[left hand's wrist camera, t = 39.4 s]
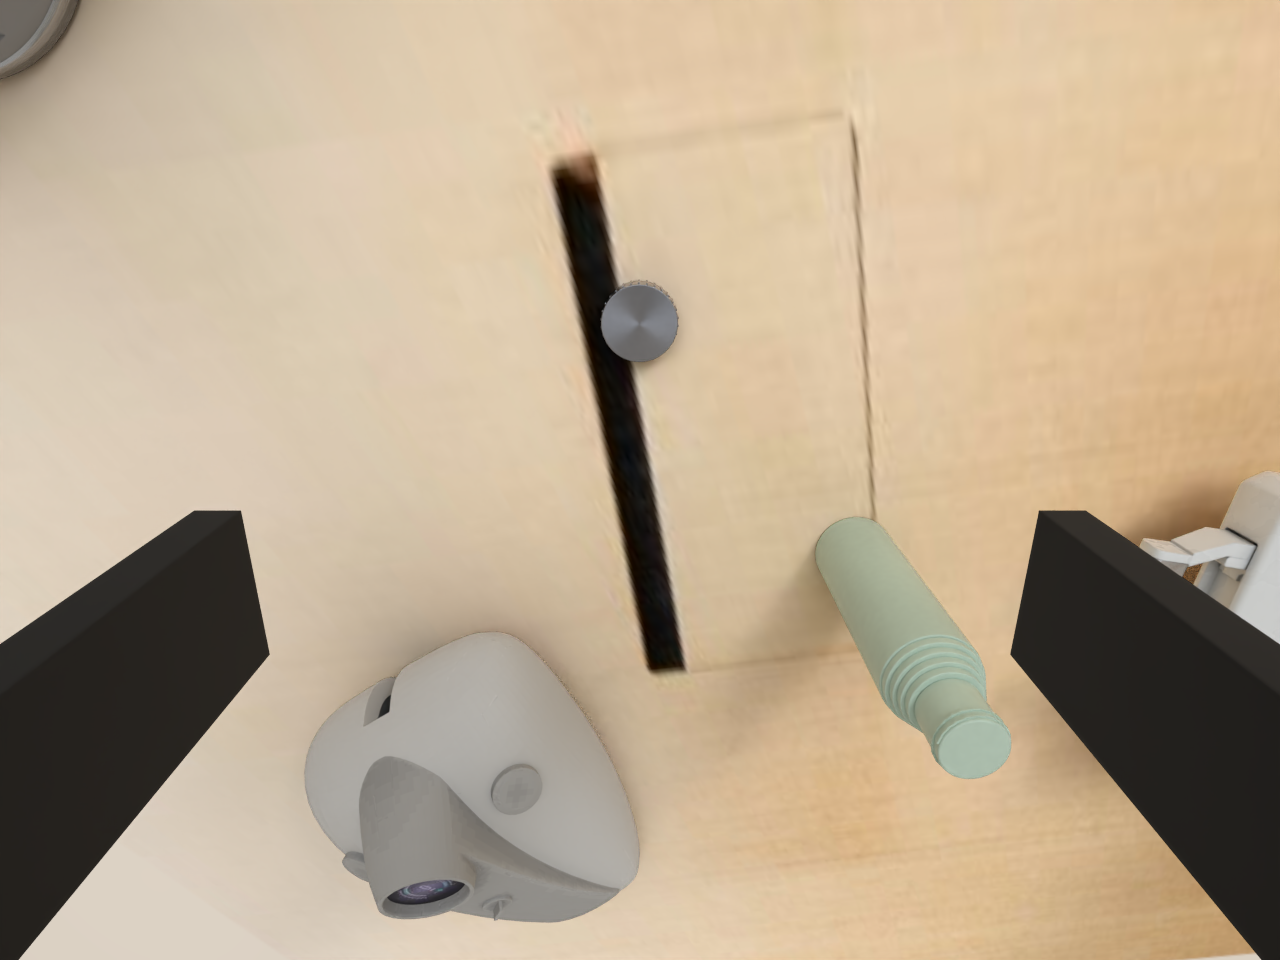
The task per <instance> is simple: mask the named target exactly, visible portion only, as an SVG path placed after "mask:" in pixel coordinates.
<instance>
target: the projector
mask: <svg viewBox="0 0 1280 960" xmlns="http://www.w3.org/2000/svg"><path fill="white" fill-rule="evenodd" d="M305 788H306V793H307V797H308V802H309V805H310V807H311V810H312V812H313V815H314V817H315V818H316V820H317V822H318V823H319V825H320V827H321V828H322V830H323V832H324V833H325V834H326V835H327V836H328V838H329V839H330V840H331V841H332V842H333V843H334V844H335V846H336V847H337V848H339V849H340V850H341V851H342V852H343V853H344V854H345V857H344V859H343V861H342V863H343V865H344V867H345V868H346V869H347V870H348V871H349V872H351V873H352V874H354V875H355V876H357V877H358V878H360V879H362V880H364V881H367V882H369V884H370V887H371V890H372V893H373V896H374V899H375V902H376V905H377V908H378V910H379V912H380V913H382V914H383V915H385V916H388V917H391V918H397V919H418V918H426V917H431V916H435V915H439V914H442V913H445V912H448V911H454V912H459V913H464V914H470V915H475V916H481V917H487V918H494V921H495V920H498V919H502V920H512V921H523V922H560V921H564V920H569V919H572V918H575V917H578V916H581V915H583V914H585V913H588V912H590V911H592V910H594V909H596V908H597V907H599V906H601V905H602V904H604V903H606V902H607V901H609V900H610V899H611V898H613V897H614V896H615V895H617V894H618V893H619V891H621V890H622V889H624V888H625V887H626V886H628V885H629V884H630V883H631V882H632V881H633V880H634V878H635V877H636V875H637V872H638V866H639V857H640V848H639V839H638V833H637V828H636V824H635V820H634V817H633V813H632V810H631V807H630V804H629V801H628V798H627V795H626V792H625V790H624V787H623V785H622V783H621V780H620V778H619V776H618V773H617V771H616V769H615V767H614V765H613V763H612V761H611V759H610V757H609V755H608V753H607V751H606V749H605V748H604V746H603V744H602V742H601V741H600V739H599V737H598V735H597V734H596V732H595V730H594V729H593V727H592V726H591V724H590V723H589V721H588V720H587V718H586V716H585V715H584V713H583V712H582V711H581V709H580V708H579V706H578V705H577V703H576V702H575V701H574V699H573V698H572V696H571V695H570V694H569V692H568V691H567V690H566V688H565V687H564V686H563V684H562V683H561V682H560V680H559V679H558V678H557V677H556V675H555V674H554V673H553V672H552V671H551V669H550V668H549V667H548V666H547V665H546V663H545V662H544V661H543V660H542V659H541V658H540V657H539V656H538V655H537V654H536V653H535V652H534V651H533V650H532V649H531V648H530V647H528V646H527V645H526V644H525V643H524V642H522V641H521V640H519V639H518V638H516V637H514V636H512V635H509V634H506V633H502V632H481V633H475V634H471V635H468V636H465V637H462V638H460V639H457V640H455V641H452V642H450V643H448V644H446V645H444V646H442V647H440V648H438V649H436V650H434V651H432V652H430V653H428V654H427V655H425V656H423V657H421V658H419V659H418V660H416V661H414V662H412V663H410V664H409V665H407V666H406V667H404V668H403V669H402V670H401V672H400V673H399V675H398V676H397V678H396V677H391V678H386V679H383V680H381V681H379V682H378V683H376V684H374V685H373V686H371V687H369V688H368V689H366V690H365V691H363V692H361V693H360V694H358V695H357V696H355V697H354V698H352V699H351V700H349V701H348V702H346V703H345V704H344V705H342V706H341V707H340V708H339V709H337V710H336V711H335V712H334V713H333V714H332V715H331V716H330V717H329V718H328V719H327V720H326V721H325V722H324V724H323V725H322V726H321V728H320V729H319V731H318V732H317V734H316V735H315V737H314V739H313V741H312V743H311V746H310V748H309V751H308V754H307V758H306V765H305Z"/></svg>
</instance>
